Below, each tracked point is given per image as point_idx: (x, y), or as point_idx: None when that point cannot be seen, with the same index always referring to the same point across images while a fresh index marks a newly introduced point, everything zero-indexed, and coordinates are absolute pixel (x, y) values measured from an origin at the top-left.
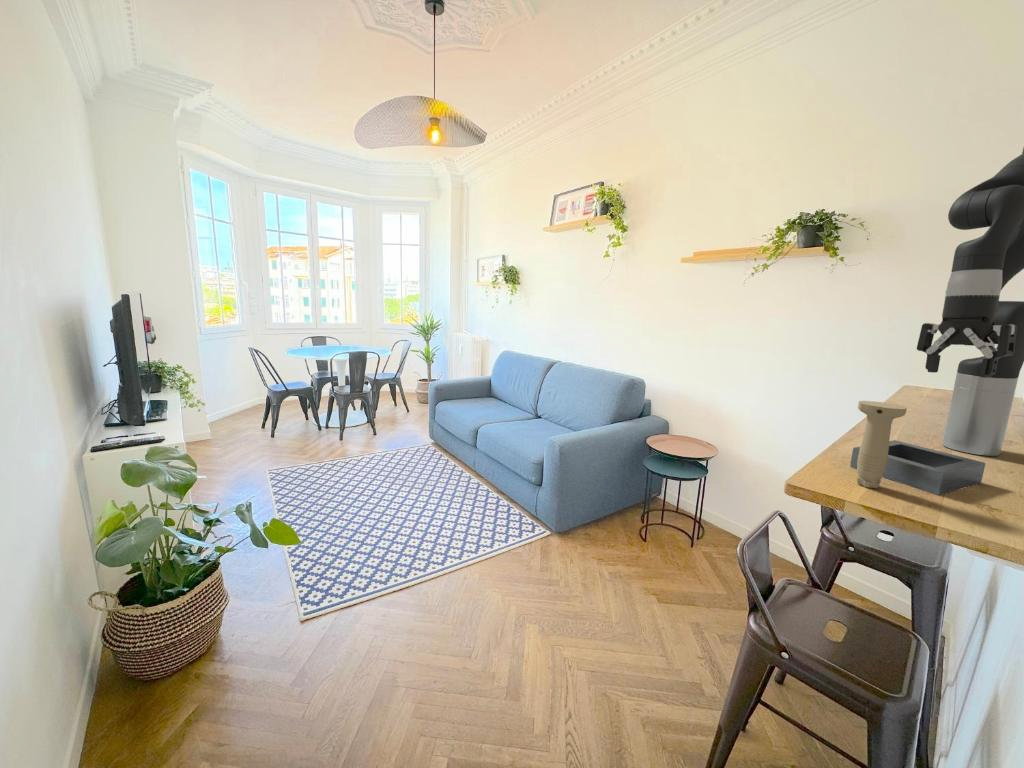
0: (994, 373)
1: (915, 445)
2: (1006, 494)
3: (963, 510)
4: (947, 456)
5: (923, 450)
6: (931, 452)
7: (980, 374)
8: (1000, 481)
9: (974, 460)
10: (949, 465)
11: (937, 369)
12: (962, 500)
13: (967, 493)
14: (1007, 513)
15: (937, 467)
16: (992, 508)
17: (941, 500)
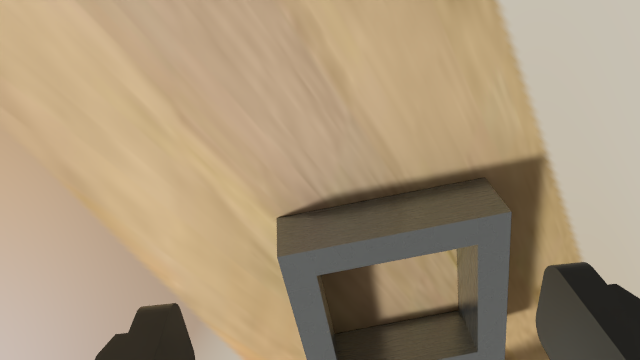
0: (630, 301)
1: (338, 247)
2: (542, 191)
3: (535, 338)
4: (436, 252)
5: (377, 262)
6: (397, 259)
7: (546, 347)
8: (497, 105)
9: (488, 220)
10: (482, 312)
11: (170, 324)
12: (514, 304)
13: None
14: None
15: (479, 346)
16: None
17: None
